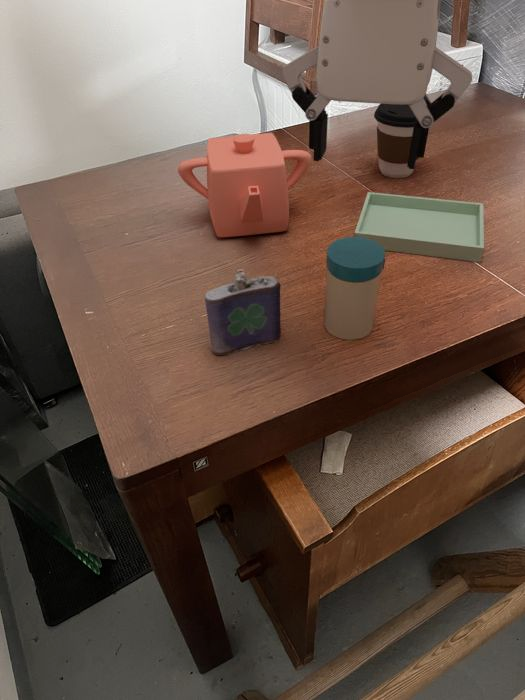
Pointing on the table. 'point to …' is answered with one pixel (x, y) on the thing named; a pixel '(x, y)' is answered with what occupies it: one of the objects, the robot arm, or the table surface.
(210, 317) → the flask
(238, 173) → the teapot
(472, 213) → the tray
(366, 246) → the lid
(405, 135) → the coffee cup
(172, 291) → the table surface
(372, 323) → the jar
